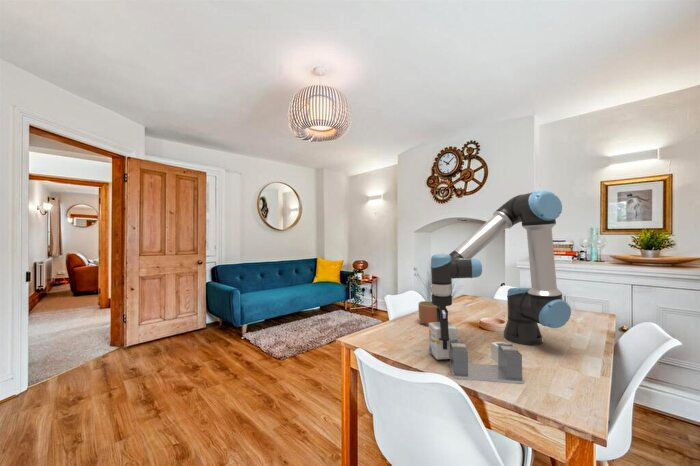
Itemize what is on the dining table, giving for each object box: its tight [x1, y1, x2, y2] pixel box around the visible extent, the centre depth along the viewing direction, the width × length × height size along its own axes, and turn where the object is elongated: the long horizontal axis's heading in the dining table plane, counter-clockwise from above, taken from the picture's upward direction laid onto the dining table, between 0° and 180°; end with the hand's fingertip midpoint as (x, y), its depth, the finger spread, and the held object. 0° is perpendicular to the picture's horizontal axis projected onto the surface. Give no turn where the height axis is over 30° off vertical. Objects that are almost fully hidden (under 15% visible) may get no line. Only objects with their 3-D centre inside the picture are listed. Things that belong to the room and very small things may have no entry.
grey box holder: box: [449, 341, 524, 385], centre depth 101 cm, size 21×11×9 cm, turn 79°
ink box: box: [428, 321, 459, 360], centre depth 114 cm, size 9×8×12 cm
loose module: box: [490, 341, 507, 363], centre depth 110 cm, size 5×7×6 cm
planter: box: [417, 300, 437, 327], centre depth 155 cm, size 12×12×11 cm
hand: (443, 351), depth 114 cm, fingers closed on ink box, 10 cm apart
